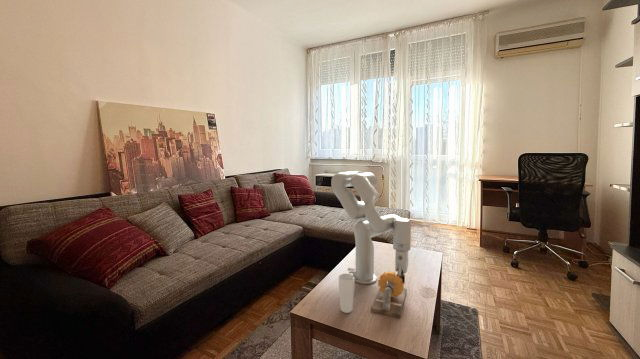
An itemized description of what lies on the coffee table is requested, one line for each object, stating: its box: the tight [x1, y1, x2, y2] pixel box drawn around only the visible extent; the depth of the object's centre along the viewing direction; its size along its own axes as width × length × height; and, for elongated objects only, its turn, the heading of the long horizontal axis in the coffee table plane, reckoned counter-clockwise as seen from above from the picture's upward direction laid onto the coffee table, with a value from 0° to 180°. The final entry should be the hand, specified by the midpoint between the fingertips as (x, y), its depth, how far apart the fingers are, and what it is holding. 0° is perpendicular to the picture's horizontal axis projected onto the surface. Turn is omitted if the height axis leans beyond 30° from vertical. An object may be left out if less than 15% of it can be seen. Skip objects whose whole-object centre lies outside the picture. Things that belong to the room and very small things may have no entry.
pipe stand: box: [370, 272, 407, 319], centre depth 125 cm, size 12×22×9 cm, turn 156°
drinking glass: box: [338, 273, 356, 314], centre depth 119 cm, size 7×7×15 cm
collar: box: [377, 270, 405, 297], centre depth 126 cm, size 11×2×11 cm, turn 66°
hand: (400, 283), depth 128 cm, fingers closed
